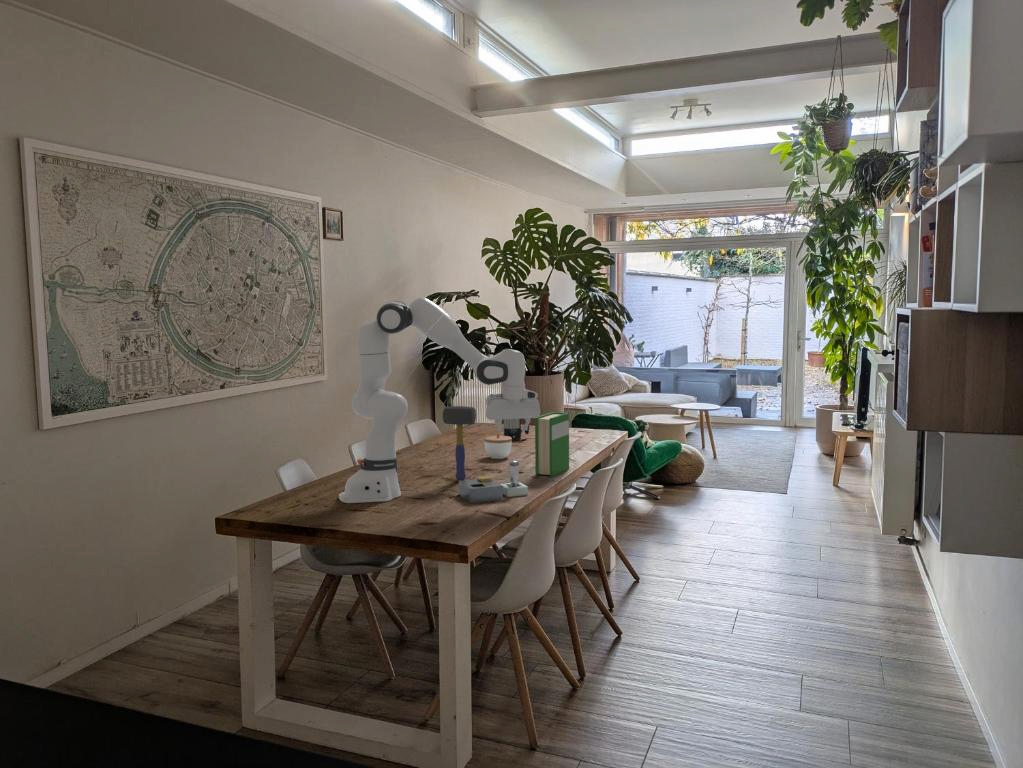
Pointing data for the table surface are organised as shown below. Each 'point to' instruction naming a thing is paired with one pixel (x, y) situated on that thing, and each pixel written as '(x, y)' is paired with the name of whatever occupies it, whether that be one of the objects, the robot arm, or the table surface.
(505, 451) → the lidded bowl
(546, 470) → the hardback book
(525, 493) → the pale green square frame
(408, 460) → the table surface
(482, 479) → the gold rectangular block
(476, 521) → the table surface
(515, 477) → the metal cylindrical peg
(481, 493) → the socket block
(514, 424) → the milk frother
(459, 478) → the rubber mallet
